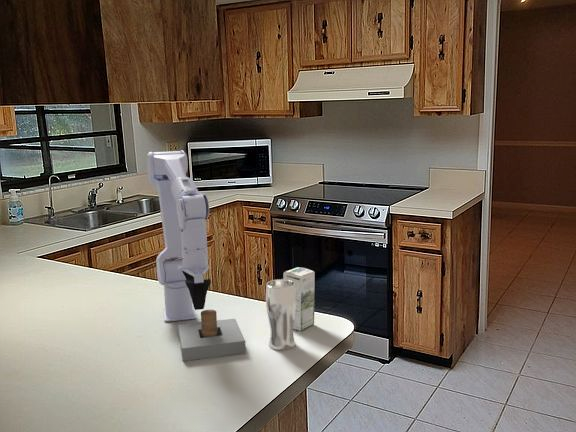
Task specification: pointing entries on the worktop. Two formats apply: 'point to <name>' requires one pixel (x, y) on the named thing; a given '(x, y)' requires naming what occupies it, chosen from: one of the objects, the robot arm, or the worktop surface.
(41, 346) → the worktop surface
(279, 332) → the beer glass
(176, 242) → the robot arm
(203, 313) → the dowel
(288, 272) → the syrup box
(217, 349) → the socket block
